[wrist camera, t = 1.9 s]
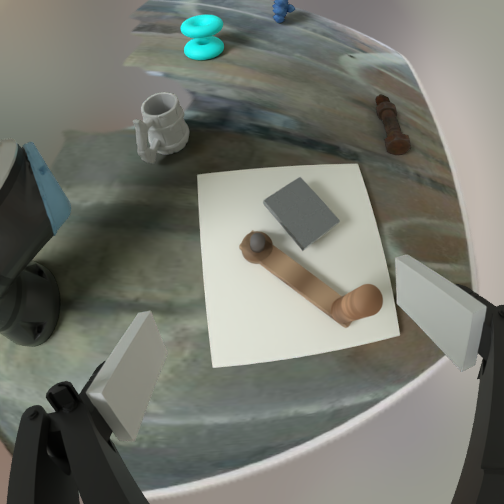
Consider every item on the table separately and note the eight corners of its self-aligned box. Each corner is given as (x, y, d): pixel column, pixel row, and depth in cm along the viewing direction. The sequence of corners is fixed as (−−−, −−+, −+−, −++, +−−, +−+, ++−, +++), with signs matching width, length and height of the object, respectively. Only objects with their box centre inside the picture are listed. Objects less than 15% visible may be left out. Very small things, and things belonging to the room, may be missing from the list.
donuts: (207, 32, 49) (171, 27, 50) (210, 65, 59) (177, 58, 60) (230, 15, 52) (195, 11, 53) (231, 47, 62) (199, 40, 63)
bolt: (379, 110, 58) (394, 159, 53) (365, 99, 56) (380, 148, 51) (397, 98, 54) (416, 146, 48) (384, 85, 51) (403, 134, 46)
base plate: (214, 366, 39) (212, 367, 38) (198, 179, 48) (197, 174, 47) (395, 335, 41) (399, 335, 40) (355, 168, 50) (357, 163, 49)
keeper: (261, 215, 47) (263, 200, 42) (295, 192, 48) (300, 176, 43) (298, 259, 44) (304, 248, 40) (331, 233, 46) (340, 220, 41)
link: (235, 251, 43) (232, 222, 33) (254, 229, 44) (256, 194, 34) (342, 332, 39) (372, 326, 29) (358, 307, 41) (391, 294, 31)
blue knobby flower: (291, 32, 65) (296, -2, 54) (267, 29, 65) (270, -5, 54) (295, 18, 69) (299, -13, 57) (273, 14, 69) (276, -16, 57)
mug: (197, 130, 52) (188, 83, 40) (167, 178, 48) (149, 134, 37) (163, 122, 53) (150, 77, 41) (132, 168, 49) (110, 126, 38)
